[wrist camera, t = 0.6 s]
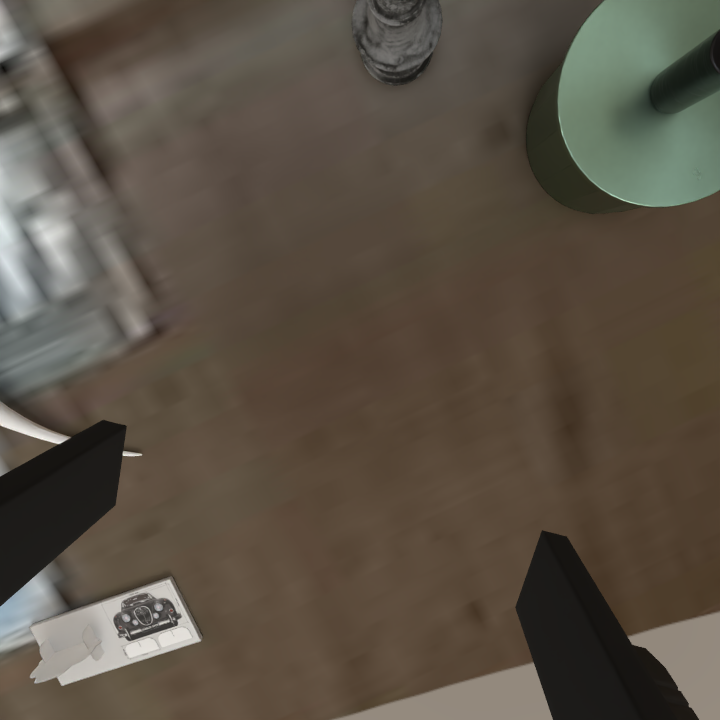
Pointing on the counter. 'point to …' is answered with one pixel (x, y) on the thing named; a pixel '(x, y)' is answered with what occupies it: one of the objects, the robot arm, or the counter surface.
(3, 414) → the dinosaur
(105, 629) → the car cutout
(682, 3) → the pot lid
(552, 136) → the pot
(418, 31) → the dark grey tall piece
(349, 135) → the counter surface
